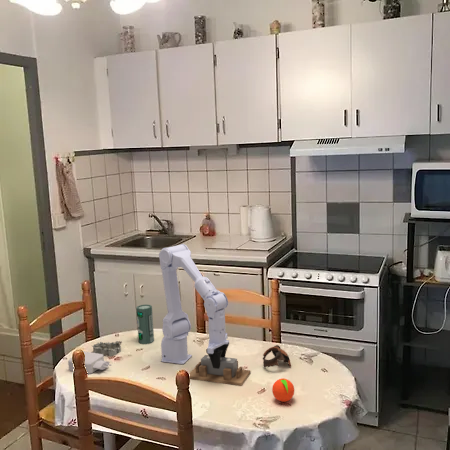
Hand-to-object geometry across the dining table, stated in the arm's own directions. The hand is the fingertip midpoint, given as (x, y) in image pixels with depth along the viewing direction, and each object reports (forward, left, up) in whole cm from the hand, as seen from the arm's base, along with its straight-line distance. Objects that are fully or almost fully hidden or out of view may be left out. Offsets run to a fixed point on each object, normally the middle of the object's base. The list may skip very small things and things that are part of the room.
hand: (218, 365), depth 179 cm
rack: (0, 0, -4) cm, 4 cm away
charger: (-47, -7, -4) cm, 48 cm away
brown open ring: (+18, +14, -4) cm, 23 cm away
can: (-41, +22, -4) cm, 47 cm away
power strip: (0, 0, -3) cm, 3 cm away
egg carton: (-51, +8, -4) cm, 52 cm away
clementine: (+26, -11, -4) cm, 29 cm away
